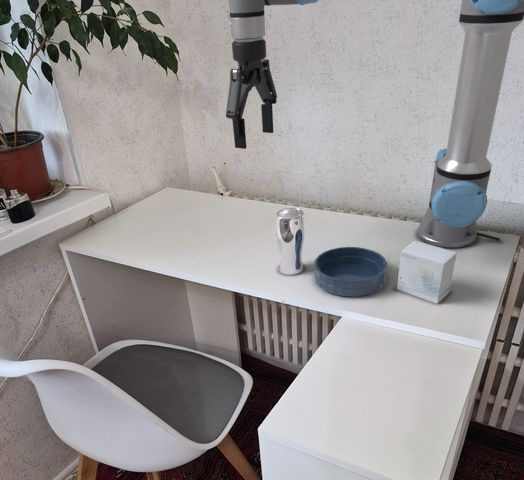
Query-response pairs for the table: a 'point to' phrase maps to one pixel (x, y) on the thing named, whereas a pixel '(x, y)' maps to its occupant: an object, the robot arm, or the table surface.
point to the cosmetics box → (426, 271)
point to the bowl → (350, 271)
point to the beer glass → (290, 239)
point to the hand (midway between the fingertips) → (254, 140)
